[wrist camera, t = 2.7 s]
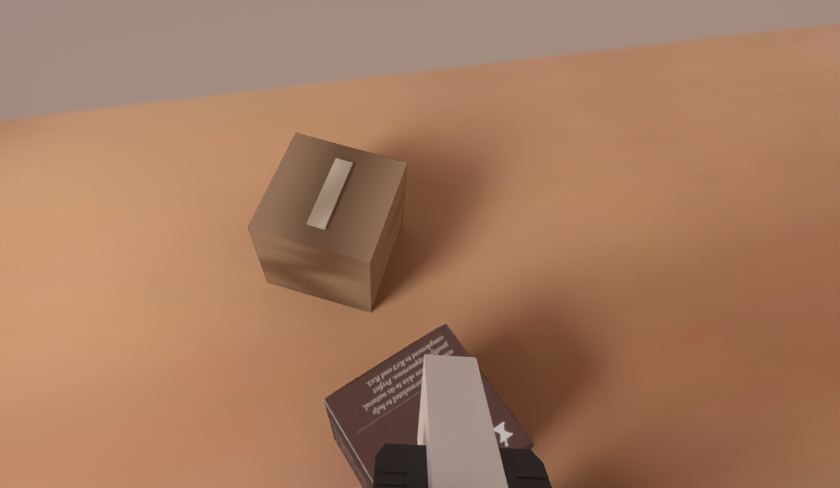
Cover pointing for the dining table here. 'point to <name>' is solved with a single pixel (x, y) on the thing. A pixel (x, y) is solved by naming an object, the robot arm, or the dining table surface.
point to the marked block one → (330, 221)
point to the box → (402, 405)
